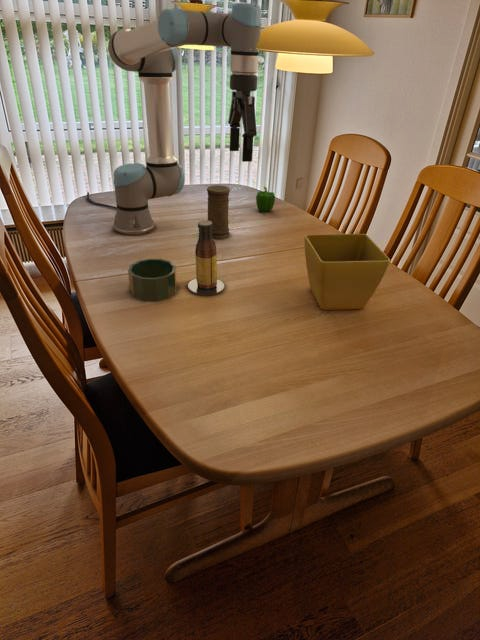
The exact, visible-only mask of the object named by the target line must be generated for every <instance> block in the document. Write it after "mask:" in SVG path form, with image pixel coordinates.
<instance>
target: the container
mask: <svg viewBox="0 0 480 640" xmlns="http://www.w3.org/2000/svg"><path fill="white" fill-rule="evenodd" d="M206 191H207V199H206V200H207V221H211V222H212V225H213V227H212V238H213V239H214V240H224V239H228V238H229V236H230V228H229V223H230V222H229V221H230V220H229V209H230V208H229V205H230V203H229V201H230V199H229V196H230V192H231V189H230V187H229V186H226V185H222V184H214V185H209V186H208V187H207V188H206Z"/></svg>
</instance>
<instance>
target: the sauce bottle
mask: <svg viewBox="0 0 480 640" xmlns="http://www.w3.org/2000/svg"><path fill="white" fill-rule="evenodd" d="M207 220H208V219H207ZM207 220H205V219H204V220H200V221H198V222H197V228H198V239H197V242H196V245H195V249H194V250H195V251H194V254H195V255H194V256H195V277H196V278H195V279H196V280H197V284H198V286H199V287H200V288H203V289H211V288H214V287H215V286H216V285H217V279H218V253H217V244H216V241H215V239H213V238H212V227H213V225H212V222H211V221H207Z"/></svg>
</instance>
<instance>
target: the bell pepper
mask: <svg viewBox="0 0 480 640" xmlns="http://www.w3.org/2000/svg"><path fill="white" fill-rule="evenodd" d="M263 189H264V191H262V190H259V191H258V192H257V193H256V195H255V196H256V197H255V202H256V208H257V209H258V211H259V212H262V213H265V212H271V211H272V210H273V208H274V205H275V202H276V196H275V192H271V191H270V192H269V191H268V188H267V186H263Z"/></svg>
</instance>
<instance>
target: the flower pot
mask: <svg viewBox="0 0 480 640" xmlns="http://www.w3.org/2000/svg"><path fill="white" fill-rule="evenodd" d="M304 257H305V264H306V265H305V266H306V272H307V278H308V282H309V288H310V291H311V293H312V294H313V296H314V298H315V300H316V302H317V304H318V306H319V308H320V309H321V310H323V311H332V310H333V311H334V310H358V309H359V310H361V309H364V308H365V306H366V305H367V304H368V303H369V301H370V300H371V299H372V297H373V296H374V294H375V292H376V291H377V289H378V287H379V286H380V284H381V282H382V281H383V278H384V277H385V274H386V272H387V270H388V268H389V265H390V263H391V258H390V257H388V256H387V254H386V253H385V252H384V251H383V250H382V249H381V248H380V247H379V246H378V245H377V243H375V242H374V241H373V240H372V238H371V237H369V235H368V234H366V233H318V234H310V233H309V234H305V235H304Z"/></svg>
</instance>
